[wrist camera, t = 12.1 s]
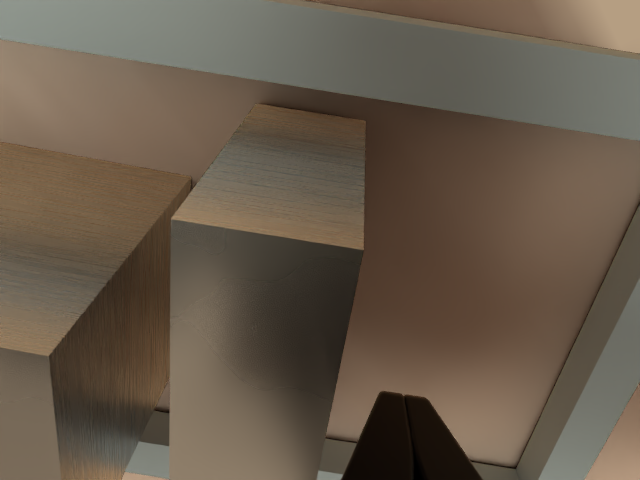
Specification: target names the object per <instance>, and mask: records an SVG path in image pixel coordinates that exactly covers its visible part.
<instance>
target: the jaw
mask: <svg viewBox="0 0 640 480" xmlns="http://www.w3.org/2000/svg"><path fill="white" fill-rule="evenodd" d="M365 124H366V121H363V120H357V119H351V118H344V117H338V116H332V115H326V114H319V113H313V112H307V111H300V110H294V109H288V108H282V107H275V106H269V105H263V104H257V103H256V105H255V106H254V107H253V109H252V110H251V111H250V113H249V114H248V115H247V117H246V118H245V119H244V121H243V122H242V123H241V125H240V126H239V128H238V129H237V130H236V132H235V133H234V134H233V136H232V137H231V138H230V140H229V141H228V142H227V144H226V145H225V146H224V148H223V149H222V151H221V152H220V153H219V155H218V156H217V157H216V159H215V160H214V161H213V163H212V164H211V165H210V167H209V168H208V169H207V171H206V172H205V173H204V175H203V176H202V178H201V179H200V180H199V182H198V183H197V184H196V186H195V187H194V188H193V190H192V191H191V192H190V194H189V195H188V196H187V198H186V199H185V201H184V202H183V203H182V205H181V206H180V207H179V209H178V210H177V211H176V213H175V214H174V215H173V217H172V218H171V263H170V426H169V480H317V475H318V471H319V466H320V461H321V456H322V451H323V446H324V441H325V436H326V432H327V427H328V422H329V417H330V412H331V407H332V402H333V397H334V392H335V388H336V383H337V378H338V373H339V368H340V363H341V358H342V353H343V349H344V344H345V339H346V334H347V329H348V324H349V319H350V314H351V309H352V305H353V300H354V295H355V290H356V285H357V280H358V275H359V270H360V265H361V261H362V256H363V251H364V193H365Z"/></svg>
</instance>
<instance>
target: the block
mask: <svg viewBox="0 0 640 480" xmlns="http://www.w3.org/2000/svg"><path fill="white" fill-rule="evenodd" d="M190 192H191V176H185V175H180V174H174V173H169V172H163V171H158V170H152V169H147V168H142V167H136V166H131V165H125V164H120V163H114V162H109V161H103V160H98V159H92V158H87V157H81V156H76V155H70V154H65V153H59V152H54V151H48V150H43V149H37V148H32V147H26V146H21V145H15V144H10V143H4V142H0V480H121V479H122V477H123V474H124V472H125V470H126V468H127V466H128V464H129V462H130V460H131V458H132V455H133V453H134V451H135V449H136V447H137V445H138V443H139V441H140V438H141V436H142V434H143V432H144V430H145V428H146V426H147V424H148V421H149V419H150V417H151V415H152V413H153V411H154V409H155V407H156V404H157V402H158V400H159V398H160V396H161V394H162V392H163V390H164V388H165V385H166V383H167V381H168V379H169V377H170V263H171V218H172V217H173V215H174V214H175V213H176V211H177V210H178V209H179V207H180V206H181V205H182V203H183V202H184V201H185V199H186V198H187V196H188V195H189V194H190Z"/></svg>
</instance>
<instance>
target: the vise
mask: <svg viewBox="0 0 640 480" xmlns="http://www.w3.org/2000/svg"><path fill="white" fill-rule="evenodd" d="M0 39H2V40H8V41H14V42H21V43H27V44H33V45H39V46H46V47H52V48H58V49H65V50H71V51H77V52H83V53H90V54H96V55H102V56H109V57H115V58H121V59H127V60H134V61H140V62H146V63H152V64H159V65H165V66H171V67H178V68H184V69H190V70H196V71H203V72H209V73H215V74H222V75H228V76H234V77H240V78H247V79H253V80H259V81H266V82H272V83H278V84H284V85H291V86H297V87H303V88H310V89H316V90H322V91H328V92H335V93H341V94H347V95H353V96H360V97H366V98H372V99H379V100H385V101H391V102H397V103H404V104H410V105H416V106H423V107H429V108H435V109H441V110H448V111H454V112H460V113H467V114H473V115H479V116H485V117H492V118H498V119H504V120H511V121H517V122H523V123H529V124H536V125H542V126H548V127H555V128H561V129H567V130H573V131H580V132H586V133H592V134H598V135H605V136H611V137H617V138H624V139H630V140H636V141H640V54H638V53H632V52H626V51H619V50H613V49H607V48H601V47H594V46H588V45H582V44H575V43H569V42H563V41H556V40H550V39H544V38H537V37H531V36H525V35H519V34H512V33H506V32H500V31H493V30H487V29H481V28H474V27H468V26H462V25H456V24H449V23H443V22H437V21H430V20H424V19H418V18H411V17H405V16H399V15H392V14H386V13H380V12H374V11H367V10H361V9H355V8H348V7H342V6H336V5H329V4H323V3H317V2H311V1H304V0H0ZM639 382H640V204H639V206H638V208H637V211H636V213H635V215H634V217H633V219H632V221H631V223H630V226H629V228H628V230H627V232H626V234H625V236H624V238H623V241H622V243H621V245H620V247H619V249H618V251H617V254H616V256H615V258H614V260H613V262H612V264H611V266H610V269H609V271H608V273H607V275H606V277H605V279H604V281H603V284H602V286H601V288H600V290H599V292H598V294H597V296H596V299H595V301H594V303H593V305H592V307H591V309H590V311H589V314H588V316H587V318H586V320H585V322H584V324H583V326H582V329H581V331H580V333H579V335H578V337H577V339H576V341H575V344H574V346H573V348H572V350H571V352H570V354H569V356H568V359H567V361H566V363H565V365H564V367H563V369H562V371H561V374H560V376H559V378H558V380H557V382H556V384H555V386H554V389H553V391H552V393H551V395H550V397H549V399H548V401H547V404H546V406H545V408H544V410H543V412H542V414H541V416H540V419H539V421H538V423H537V425H536V427H535V429H534V431H533V434H532V436H531V438H530V440H529V442H528V444H527V446H526V449H525V451H524V453H523V455H522V457H521V459H520V461H519V464H518V466H517V468H516V469H512V468H506V467H500V466H493V465H487V464H481V463H475V462H471V463H472V464H473V466H474V467H475V469H476V470H477V471H478V473H479V474H480V476H481V477H482V479H483V480H584V479H585V478H586V476H587V474H588V472H589V471H590V469H591V467H592V465H593V464H594V462H595V460H596V458H597V456H598V455H599V453H600V451H601V449H602V448H603V446H604V444H605V442H606V441H607V439H608V437H609V435H610V433H611V432H612V430H613V428H614V426H615V425H616V423H617V421H618V419H619V418H620V416H621V414H622V412H623V410H624V409H625V407H626V405H627V403H628V402H629V400H630V398H631V396H632V395H633V393H634V391H635V389H636V387H637V386H638V384H639ZM169 426H170V413H165V412H159V411H153V413H152V415H151V417H150V419H149V421H148V424H147V426H146V428H145V430H144V432H143V434H142V436H141V438H140V441H139V443H138V445H137V447H136V449H135V451H134V453H133V455H132V458H131V460H130V462H129V464H128V466H127V468H126V470H125V472H129V473H135V474H141V475H148V476H154V477H160V478H166V479H169ZM356 444H357V443H351V442H345V441H339V440H332V439H326V438H325V441H324V446H323V451H322V456H321V461H320V466H319V471H318V475H317V480H341V478H342V476H343V474H344V471H345V469H346V467H347V465H348V462H349V460H350V458H351V456H352V453H353V451H354V449H355V446H356Z"/></svg>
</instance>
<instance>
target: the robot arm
mask: <svg viewBox="0 0 640 480" xmlns="http://www.w3.org/2000/svg"><path fill="white" fill-rule="evenodd" d="M341 480H483V479H482V477H481V476H480V474H479V473H478V471H477V470H476V469H475V467H474V466H473V464H472V463H471V461H470V460H469V458H468V457H467V455H466V454H465V452H464V451H463V450H462V448H461V447H460V445H459V444H458V442H457V441H456V439H455V438H454V436H453V435H452V434H451V432H450V431H449V429H448V428H447V426H446V425H445V423H444V422H443V420H442V419H441V417H440V416H439V415H438V413H437V412H436V410H435V409H434V407H433V406H432V404H431V403H430V401H429V400H428V399H426V398H424V397H419V396H413V395H404V396H403V395H402V394H400V393H393V392H387V391H381V392H380V393H379V394H378V396H377V399H376V401H375V403H374V406H373V408H372V410H371V412H370V415H369V417H368V419H367V421H366V424H365V426H364V428H363V431H362V433H361V435H360V437H359V440H358V442H357V444H356V446H355V449H354V451H353V453H352V456H351V458H350V460H349V462H348V465H347V467H346V469H345V471H344V474H343V476H342V478H341Z"/></svg>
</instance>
